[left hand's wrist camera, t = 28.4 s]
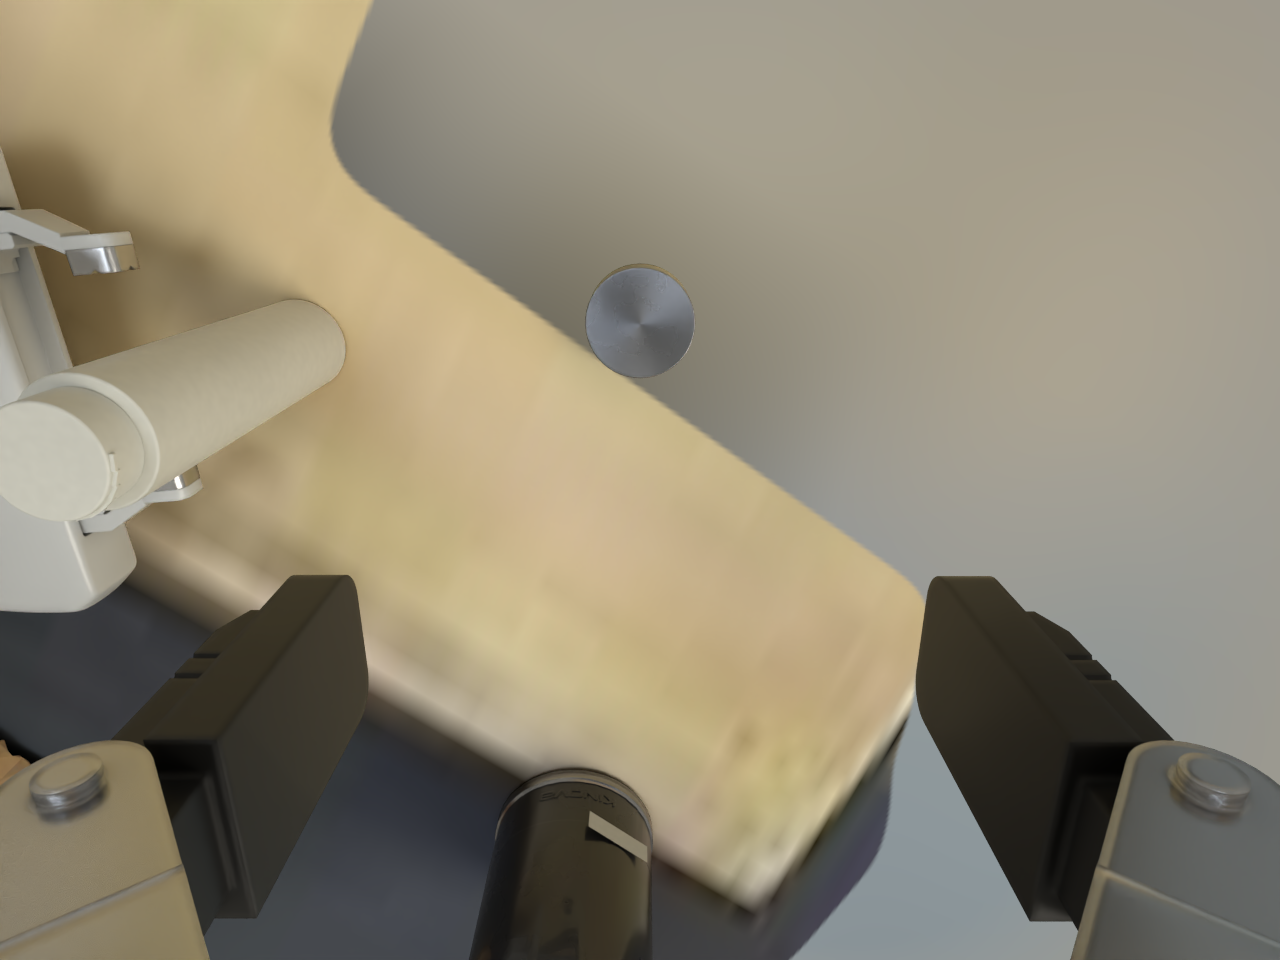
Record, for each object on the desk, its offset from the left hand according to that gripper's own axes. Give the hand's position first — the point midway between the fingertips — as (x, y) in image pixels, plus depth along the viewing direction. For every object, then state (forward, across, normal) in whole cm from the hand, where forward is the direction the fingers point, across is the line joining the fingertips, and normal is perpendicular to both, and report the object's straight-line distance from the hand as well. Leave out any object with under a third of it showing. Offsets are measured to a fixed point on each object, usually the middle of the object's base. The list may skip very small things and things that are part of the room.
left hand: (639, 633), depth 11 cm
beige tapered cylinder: (+28, +16, +1) cm, 33 cm away
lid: (+27, 0, 0) cm, 27 cm away
